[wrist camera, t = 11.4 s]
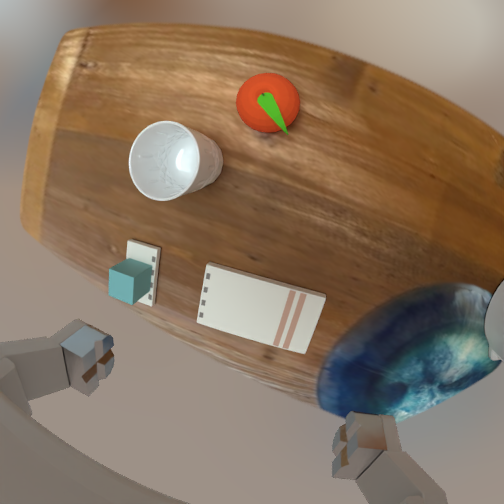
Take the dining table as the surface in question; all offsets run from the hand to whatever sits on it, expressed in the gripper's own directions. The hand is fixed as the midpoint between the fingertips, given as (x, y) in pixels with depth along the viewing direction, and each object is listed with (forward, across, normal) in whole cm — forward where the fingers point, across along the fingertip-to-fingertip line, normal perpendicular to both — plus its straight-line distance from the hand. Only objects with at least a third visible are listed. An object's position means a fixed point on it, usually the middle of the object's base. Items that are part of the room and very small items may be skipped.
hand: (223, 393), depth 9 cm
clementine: (+29, +5, -13) cm, 32 cm away
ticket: (+29, +1, +12) cm, 31 cm away
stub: (+29, +19, +12) cm, 36 cm away
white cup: (+29, +13, -5) cm, 32 cm away
